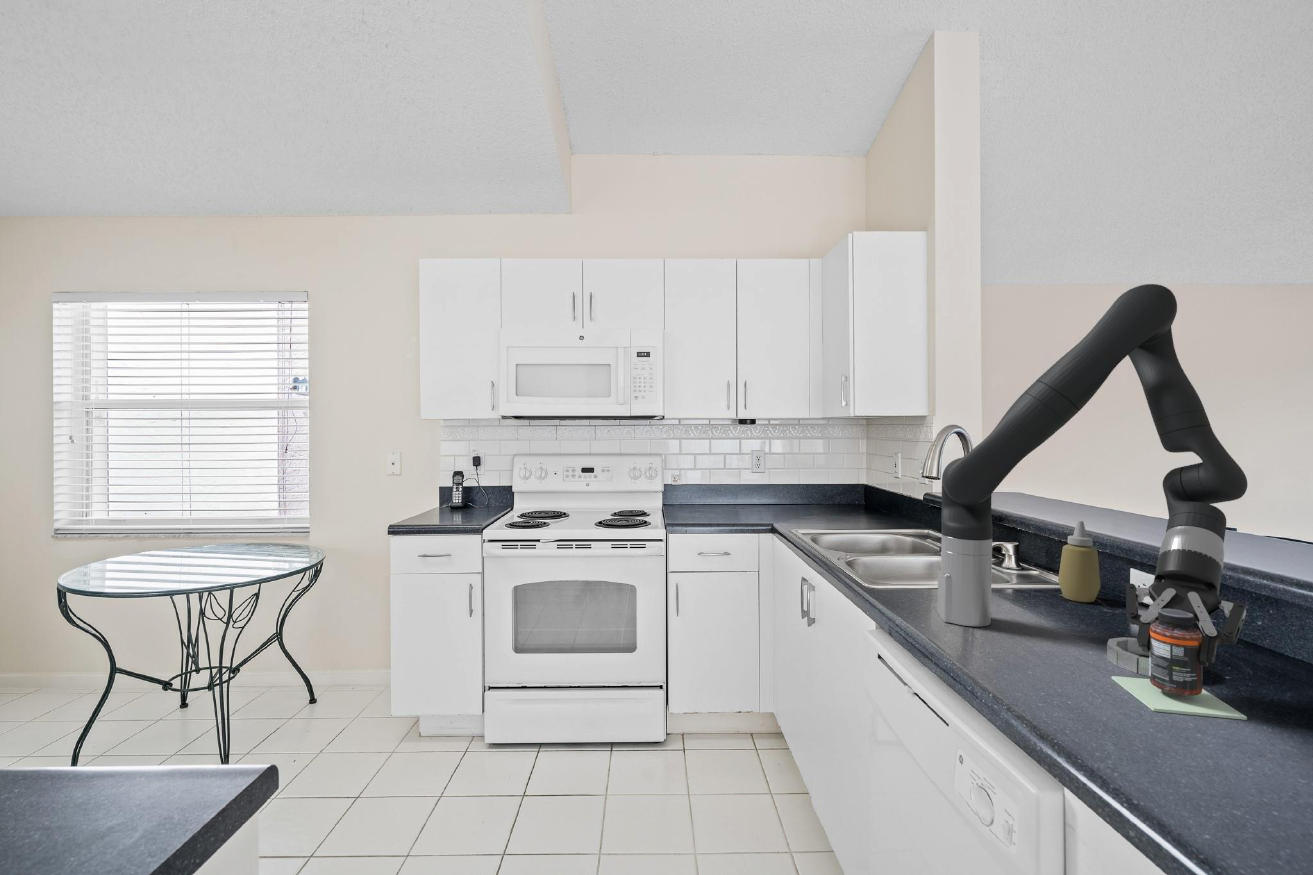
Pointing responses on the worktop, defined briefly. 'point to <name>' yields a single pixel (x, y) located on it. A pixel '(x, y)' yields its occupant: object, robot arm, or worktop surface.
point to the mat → (1177, 700)
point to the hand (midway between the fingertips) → (1173, 655)
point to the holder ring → (1128, 655)
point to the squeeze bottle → (1079, 567)
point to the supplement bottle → (1175, 653)
